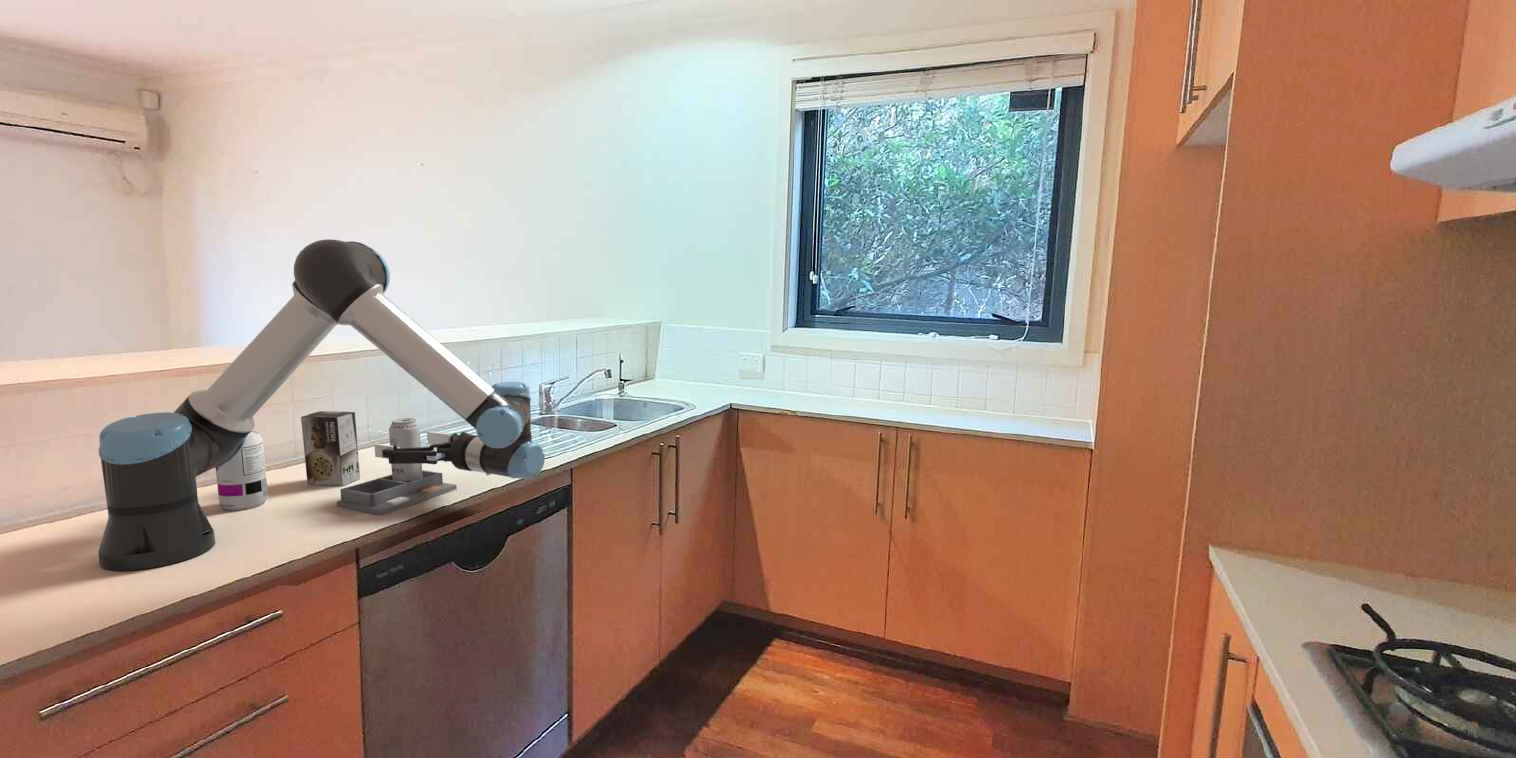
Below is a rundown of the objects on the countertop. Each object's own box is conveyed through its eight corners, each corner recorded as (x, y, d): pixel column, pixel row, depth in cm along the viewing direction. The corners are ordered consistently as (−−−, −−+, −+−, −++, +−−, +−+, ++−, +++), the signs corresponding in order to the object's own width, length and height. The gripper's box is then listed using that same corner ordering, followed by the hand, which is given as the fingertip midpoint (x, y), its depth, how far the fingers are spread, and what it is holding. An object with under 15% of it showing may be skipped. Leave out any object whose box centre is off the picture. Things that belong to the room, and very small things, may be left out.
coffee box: (361, 478, 165) (356, 411, 163) (342, 486, 159) (337, 416, 156) (325, 477, 166) (320, 410, 164) (305, 484, 160) (299, 415, 157)
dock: (381, 515, 140) (380, 498, 140) (337, 506, 145) (335, 490, 145) (456, 489, 158) (455, 474, 157) (414, 482, 163) (413, 467, 162)
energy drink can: (388, 486, 156) (383, 420, 154) (415, 480, 160) (411, 416, 158) (400, 491, 152) (395, 424, 150) (427, 485, 157) (423, 420, 154)
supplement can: (220, 514, 140) (213, 441, 138) (218, 503, 146) (211, 433, 144) (270, 506, 145) (263, 435, 143) (266, 496, 151) (259, 428, 149)
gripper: (429, 486, 136) (353, 474, 144) (519, 457, 159) (448, 447, 167) (427, 449, 135) (350, 438, 143) (517, 425, 158) (447, 416, 166)
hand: (403, 443), depth 155 cm, fingers open, 13 cm apart
